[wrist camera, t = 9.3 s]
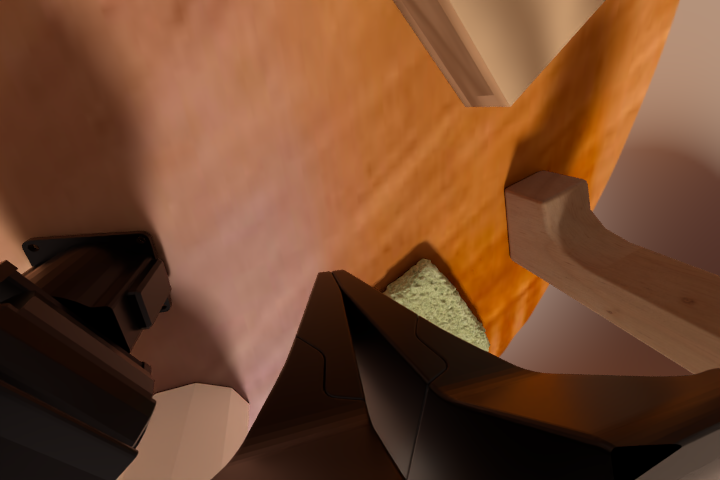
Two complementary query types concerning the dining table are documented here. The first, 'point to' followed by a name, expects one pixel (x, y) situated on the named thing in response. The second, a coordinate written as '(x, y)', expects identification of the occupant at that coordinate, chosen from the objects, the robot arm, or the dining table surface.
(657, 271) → the wooden block
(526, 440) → the robot arm
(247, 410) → the toilet paper
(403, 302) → the washcloth
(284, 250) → the dining table surface
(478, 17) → the box with sliding lid
